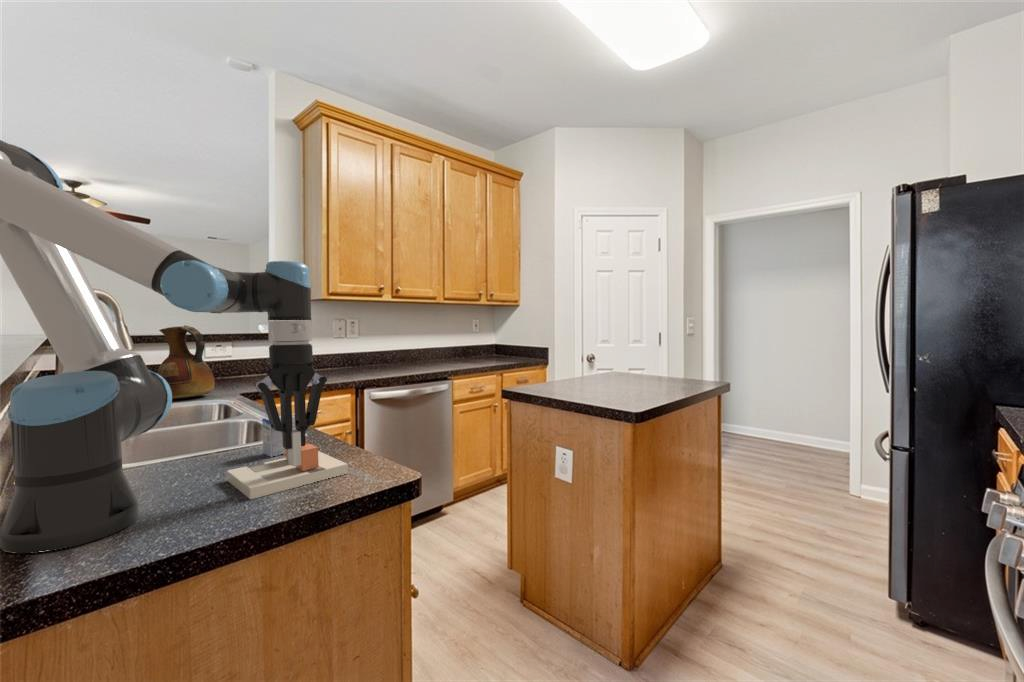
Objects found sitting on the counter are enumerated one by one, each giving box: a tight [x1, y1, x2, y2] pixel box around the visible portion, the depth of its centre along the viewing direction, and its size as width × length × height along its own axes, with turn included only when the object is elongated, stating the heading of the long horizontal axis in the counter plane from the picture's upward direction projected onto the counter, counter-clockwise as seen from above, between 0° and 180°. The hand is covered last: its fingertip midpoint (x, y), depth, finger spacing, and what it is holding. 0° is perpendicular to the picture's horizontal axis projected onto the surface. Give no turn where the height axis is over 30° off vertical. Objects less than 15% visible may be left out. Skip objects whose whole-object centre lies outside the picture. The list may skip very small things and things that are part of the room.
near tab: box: [295, 443, 319, 471], centre depth 90 cm, size 3×4×4 cm
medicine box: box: [261, 412, 296, 458], centre depth 109 cm, size 8×4×9 cm, turn 141°
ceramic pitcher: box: [157, 325, 216, 400], centre depth 187 cm, size 20×20×30 cm
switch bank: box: [226, 450, 349, 500], centre depth 91 cm, size 18×14×2 cm
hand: (295, 464), depth 89 cm, fingers closed
